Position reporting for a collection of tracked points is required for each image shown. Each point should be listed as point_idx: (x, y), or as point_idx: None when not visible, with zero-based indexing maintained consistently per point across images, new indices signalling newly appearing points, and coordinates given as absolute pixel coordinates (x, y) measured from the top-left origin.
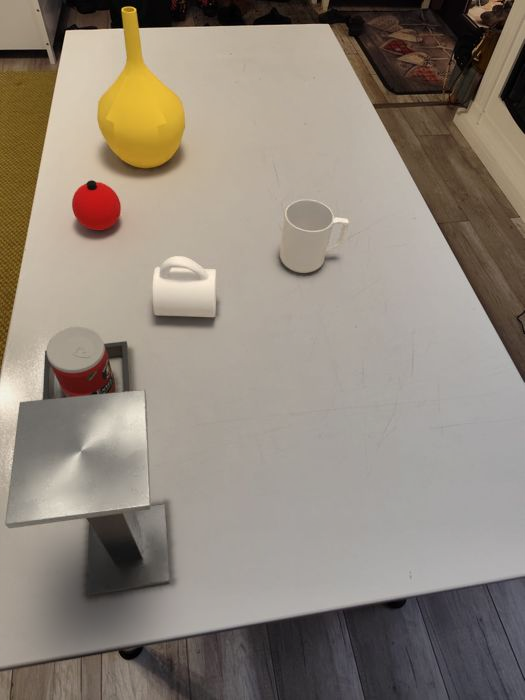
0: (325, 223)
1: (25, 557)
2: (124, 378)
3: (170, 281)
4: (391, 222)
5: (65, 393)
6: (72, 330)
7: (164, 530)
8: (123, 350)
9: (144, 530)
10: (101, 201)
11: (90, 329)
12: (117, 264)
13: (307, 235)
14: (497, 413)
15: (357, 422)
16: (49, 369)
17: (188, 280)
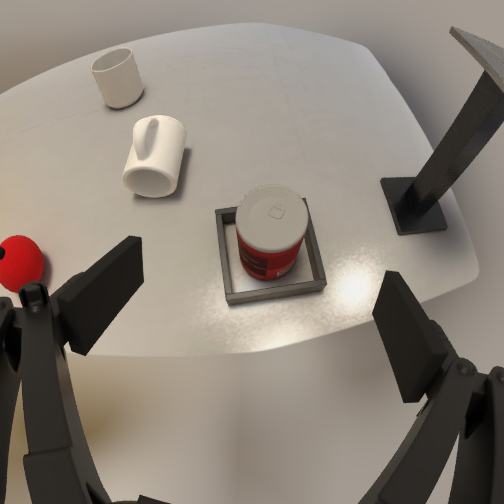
0: (113, 63)
1: (433, 281)
2: None
3: (153, 150)
4: None
5: (291, 264)
6: (242, 223)
7: (400, 178)
8: (228, 211)
9: (403, 191)
10: (19, 245)
11: (241, 201)
12: (89, 247)
13: (130, 59)
14: (277, 29)
15: (291, 73)
16: (255, 290)
17: (156, 135)
